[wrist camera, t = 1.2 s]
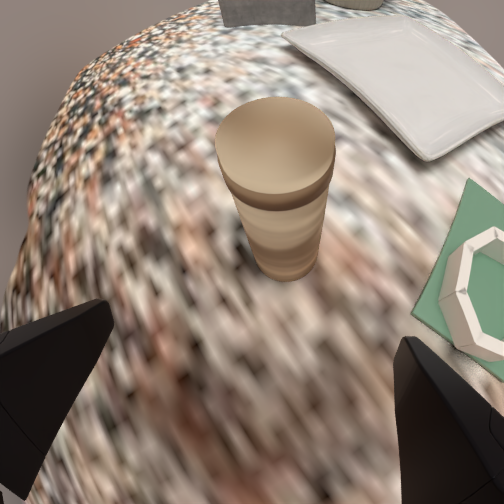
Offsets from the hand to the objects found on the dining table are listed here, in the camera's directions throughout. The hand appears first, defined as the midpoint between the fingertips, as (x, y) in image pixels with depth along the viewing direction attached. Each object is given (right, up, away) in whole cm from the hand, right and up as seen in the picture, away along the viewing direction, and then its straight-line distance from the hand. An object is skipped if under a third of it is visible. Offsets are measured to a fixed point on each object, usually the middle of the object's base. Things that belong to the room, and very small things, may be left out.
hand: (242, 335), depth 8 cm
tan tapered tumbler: (+3, +2, +15) cm, 16 cm away
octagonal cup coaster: (+22, 0, +12) cm, 25 cm away
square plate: (+22, +26, +23) cm, 41 cm away
